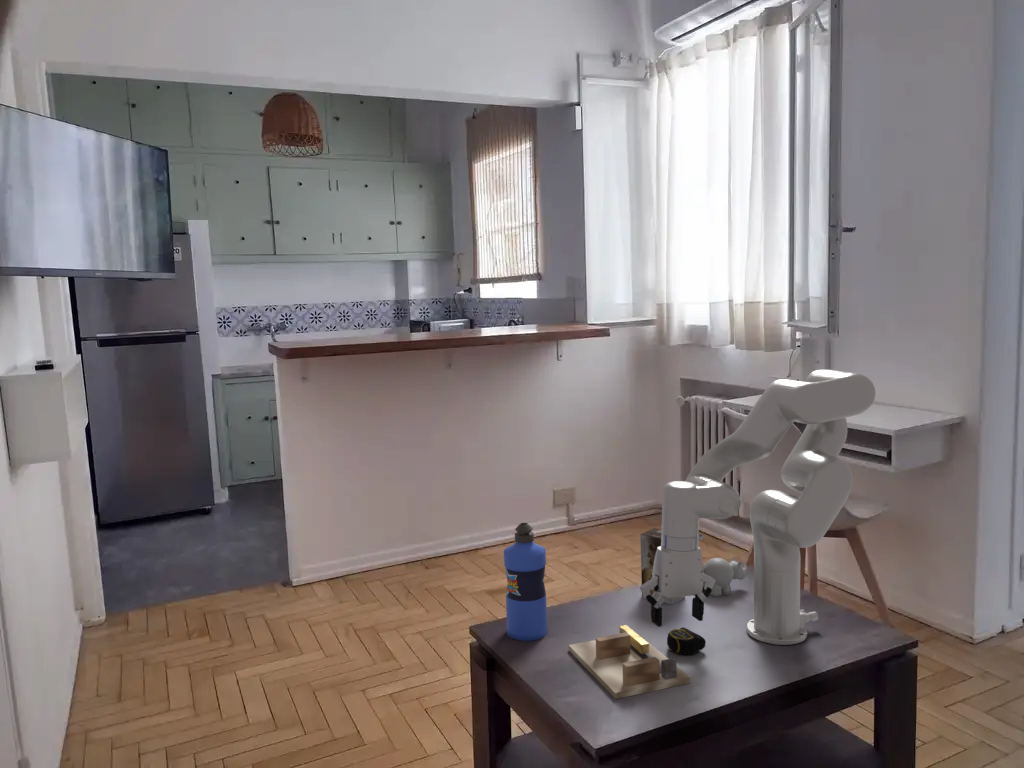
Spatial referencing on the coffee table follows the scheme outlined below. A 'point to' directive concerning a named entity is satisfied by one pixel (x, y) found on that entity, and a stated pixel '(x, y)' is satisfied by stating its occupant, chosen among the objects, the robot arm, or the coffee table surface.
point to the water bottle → (525, 586)
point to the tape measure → (685, 641)
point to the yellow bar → (636, 640)
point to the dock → (616, 670)
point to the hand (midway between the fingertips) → (677, 621)
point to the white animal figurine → (723, 574)
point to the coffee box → (651, 557)
